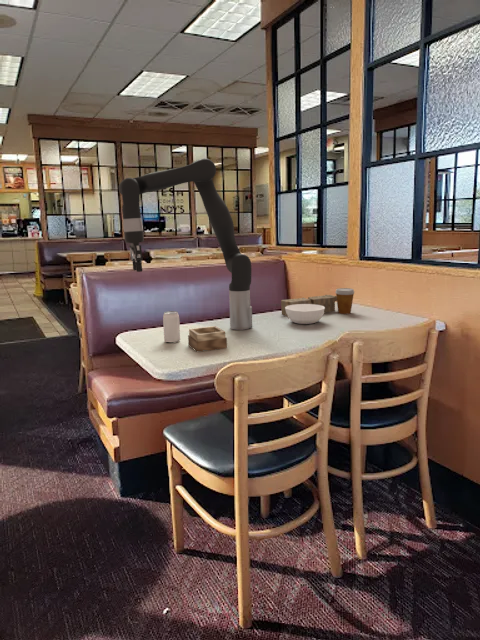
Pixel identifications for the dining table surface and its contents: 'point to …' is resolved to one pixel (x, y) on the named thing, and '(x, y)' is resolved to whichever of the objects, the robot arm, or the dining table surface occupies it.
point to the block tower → (312, 302)
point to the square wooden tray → (207, 333)
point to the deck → (207, 344)
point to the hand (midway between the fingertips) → (137, 270)
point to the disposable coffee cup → (344, 300)
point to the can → (171, 326)
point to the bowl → (304, 313)
